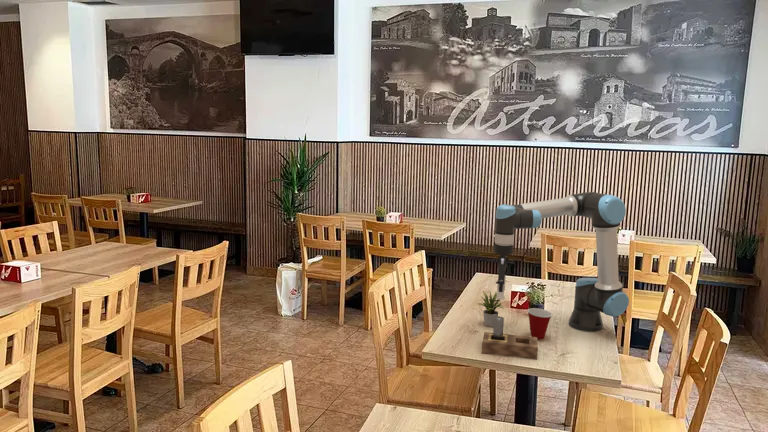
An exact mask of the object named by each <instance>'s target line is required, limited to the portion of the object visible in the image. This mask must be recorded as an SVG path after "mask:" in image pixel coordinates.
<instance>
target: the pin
mask: <svg viewBox="0 0 768 432" xmlns="http://www.w3.org/2000/svg"><path fill="white" fill-rule="evenodd" d="M504 324H505V318H504V317H503V316H500V315H498V316H495V317H494V327H493V332H492V333H493V340H501V341H503V334H504V327H505V326H504Z"/></svg>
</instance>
